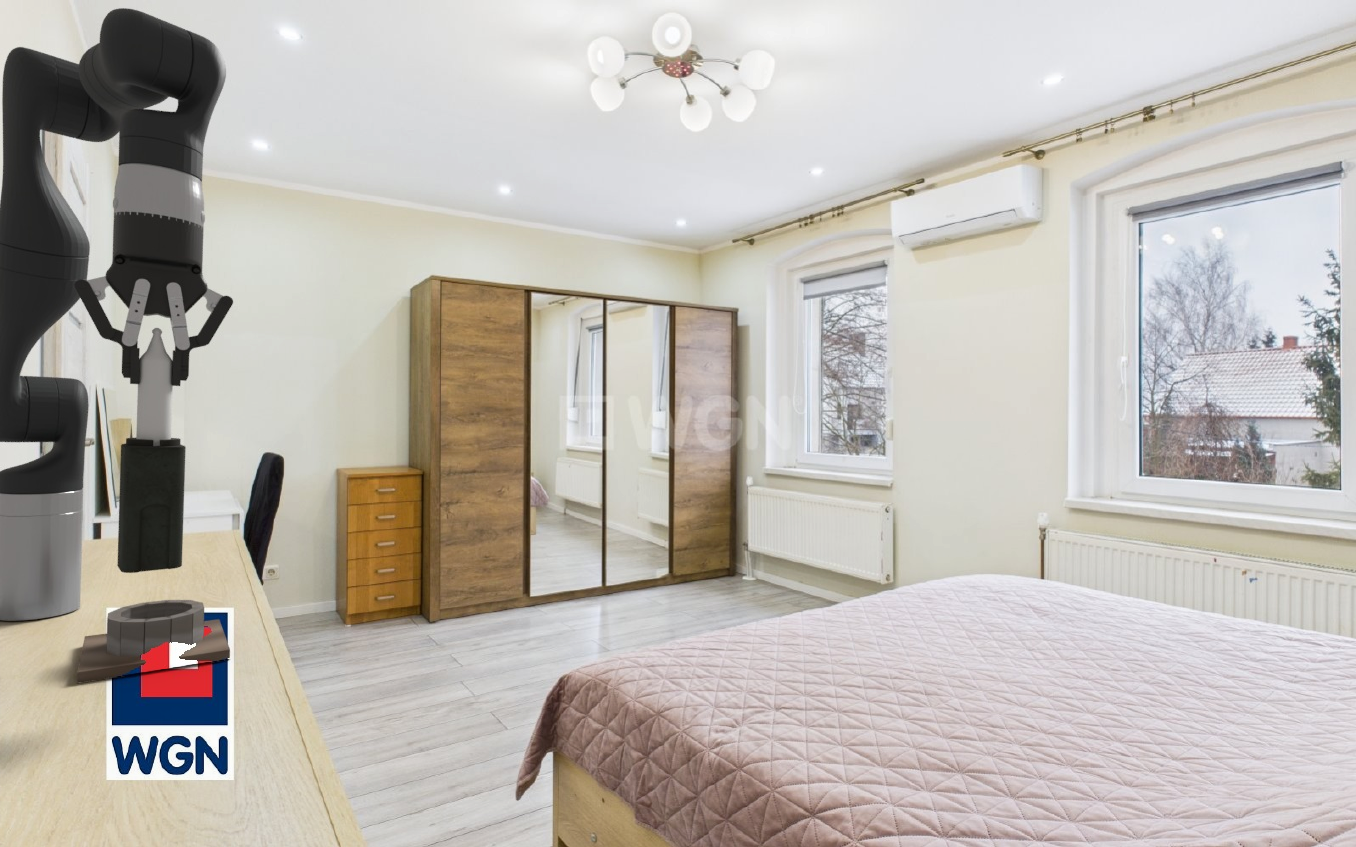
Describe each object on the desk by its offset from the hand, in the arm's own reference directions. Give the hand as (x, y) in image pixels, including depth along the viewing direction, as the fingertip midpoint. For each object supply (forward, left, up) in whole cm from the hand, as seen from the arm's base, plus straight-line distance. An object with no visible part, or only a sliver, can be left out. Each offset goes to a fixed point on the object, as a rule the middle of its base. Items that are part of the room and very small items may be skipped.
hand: (155, 384), depth 73 cm
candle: (0, 0, -19) cm, 19 cm away
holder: (-14, +1, -33) cm, 36 cm away
